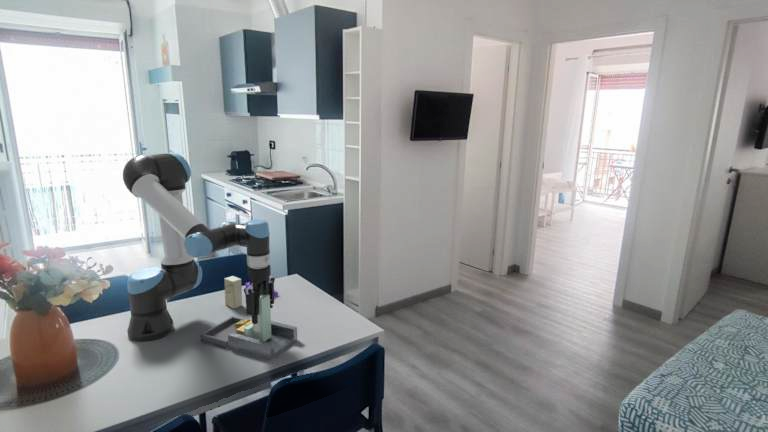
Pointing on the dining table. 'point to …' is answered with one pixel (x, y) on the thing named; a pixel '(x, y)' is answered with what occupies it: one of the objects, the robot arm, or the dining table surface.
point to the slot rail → (266, 349)
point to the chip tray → (221, 332)
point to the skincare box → (233, 292)
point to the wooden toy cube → (241, 330)
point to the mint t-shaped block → (261, 321)
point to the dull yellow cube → (241, 323)
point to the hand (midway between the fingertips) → (261, 327)
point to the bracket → (249, 285)
